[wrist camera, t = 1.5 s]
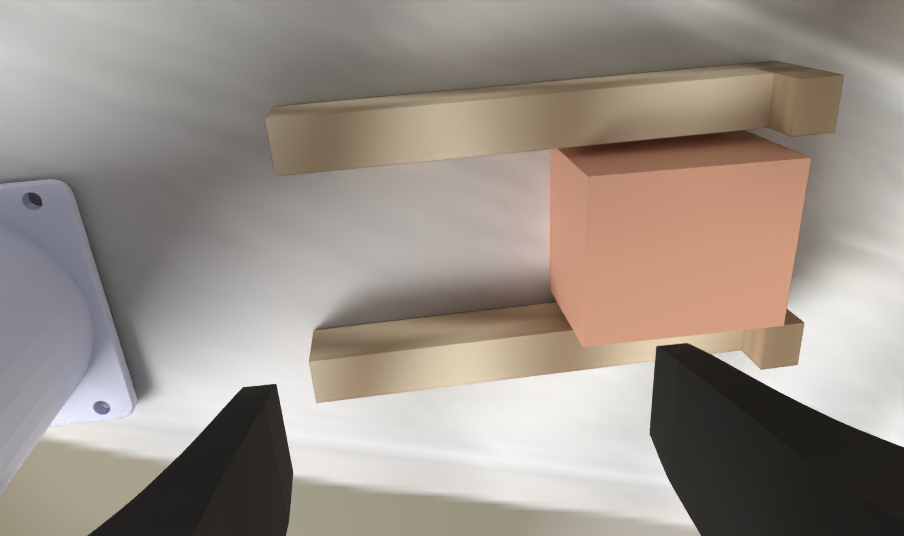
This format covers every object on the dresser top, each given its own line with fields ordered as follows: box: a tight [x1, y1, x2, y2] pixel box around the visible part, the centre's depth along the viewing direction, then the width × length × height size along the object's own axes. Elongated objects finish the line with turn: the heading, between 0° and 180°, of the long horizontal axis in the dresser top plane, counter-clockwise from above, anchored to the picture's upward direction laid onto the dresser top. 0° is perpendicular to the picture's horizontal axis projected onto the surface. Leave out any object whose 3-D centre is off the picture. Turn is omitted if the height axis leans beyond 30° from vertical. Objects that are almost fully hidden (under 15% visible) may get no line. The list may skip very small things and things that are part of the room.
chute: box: [265, 61, 844, 403], centre depth 20 cm, size 15×9×3 cm, turn 94°
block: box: [550, 130, 811, 347], centre depth 20 cm, size 6×5×4 cm
